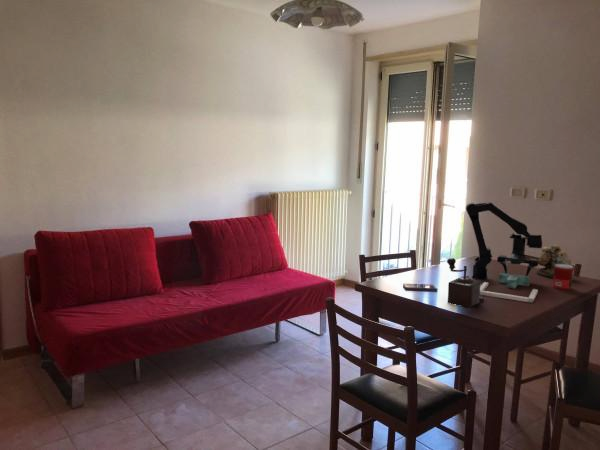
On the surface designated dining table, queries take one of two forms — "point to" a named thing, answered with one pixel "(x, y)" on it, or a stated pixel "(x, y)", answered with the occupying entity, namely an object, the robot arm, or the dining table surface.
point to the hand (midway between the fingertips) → (516, 277)
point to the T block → (514, 280)
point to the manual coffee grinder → (462, 288)
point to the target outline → (506, 296)
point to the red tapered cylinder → (562, 276)
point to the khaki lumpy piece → (552, 260)
